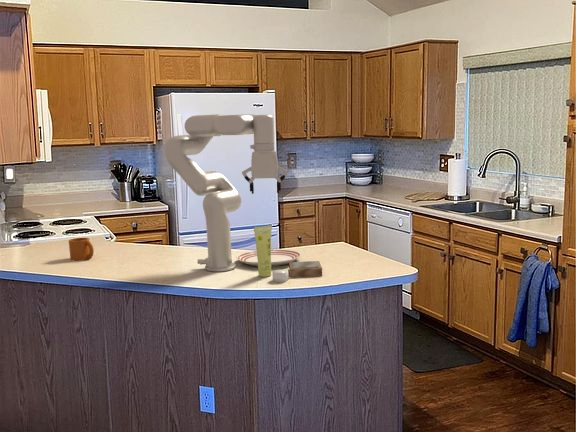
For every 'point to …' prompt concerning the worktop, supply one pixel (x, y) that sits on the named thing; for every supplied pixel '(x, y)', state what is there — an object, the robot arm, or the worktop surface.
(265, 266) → the tube
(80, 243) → the mug
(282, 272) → the white dome
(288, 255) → the dinner plate
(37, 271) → the worktop surface
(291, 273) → the stand
